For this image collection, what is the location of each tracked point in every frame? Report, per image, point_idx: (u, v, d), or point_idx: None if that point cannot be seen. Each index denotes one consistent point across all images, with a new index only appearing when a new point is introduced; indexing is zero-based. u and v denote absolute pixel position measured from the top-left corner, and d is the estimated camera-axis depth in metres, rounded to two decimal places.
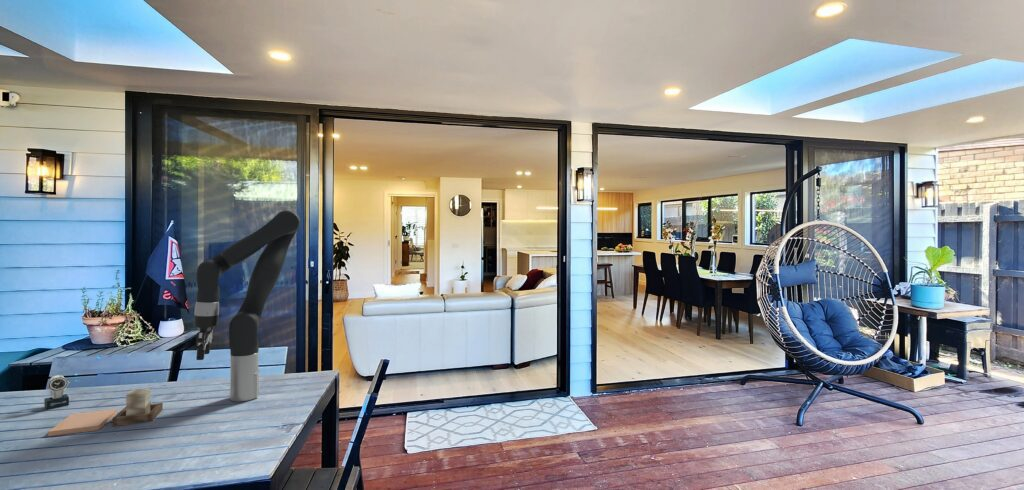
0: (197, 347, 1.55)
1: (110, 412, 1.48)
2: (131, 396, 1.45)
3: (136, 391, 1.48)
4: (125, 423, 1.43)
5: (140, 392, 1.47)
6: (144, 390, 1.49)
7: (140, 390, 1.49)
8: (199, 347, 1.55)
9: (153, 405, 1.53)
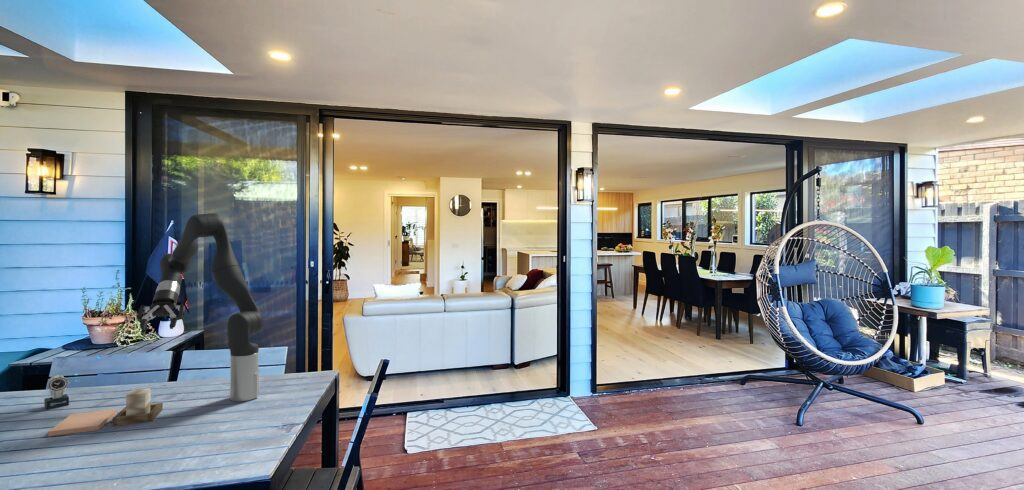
0: None
1: (110, 412, 1.48)
2: (130, 396, 1.45)
3: (136, 391, 1.48)
4: (125, 423, 1.43)
5: (140, 392, 1.47)
6: (144, 390, 1.49)
7: (140, 390, 1.49)
8: None
9: (153, 405, 1.53)
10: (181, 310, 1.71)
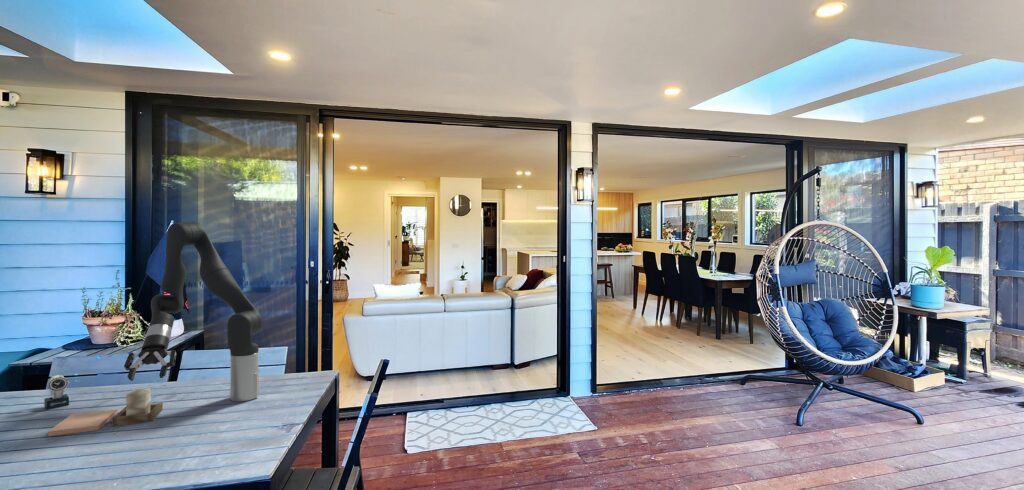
0: None
1: (110, 412, 1.48)
2: (131, 396, 1.45)
3: (136, 391, 1.48)
4: (125, 423, 1.43)
5: (140, 392, 1.47)
6: (144, 390, 1.49)
7: (140, 390, 1.49)
8: None
9: (153, 405, 1.53)
10: (172, 357, 1.61)
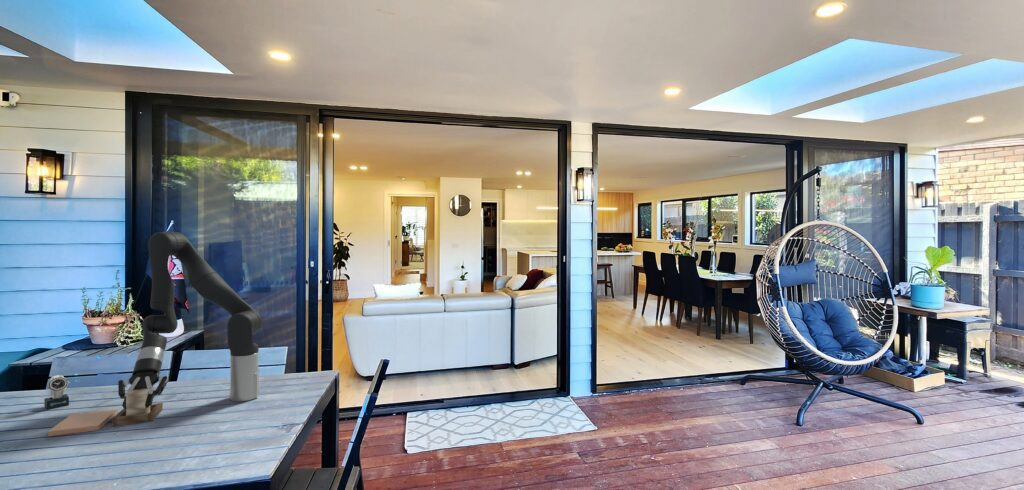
0: None
1: (110, 412, 1.48)
2: (130, 396, 1.45)
3: (136, 391, 1.48)
4: (125, 423, 1.43)
5: (140, 392, 1.47)
6: (144, 390, 1.49)
7: (140, 390, 1.49)
8: None
9: (153, 405, 1.53)
10: (161, 384, 1.52)
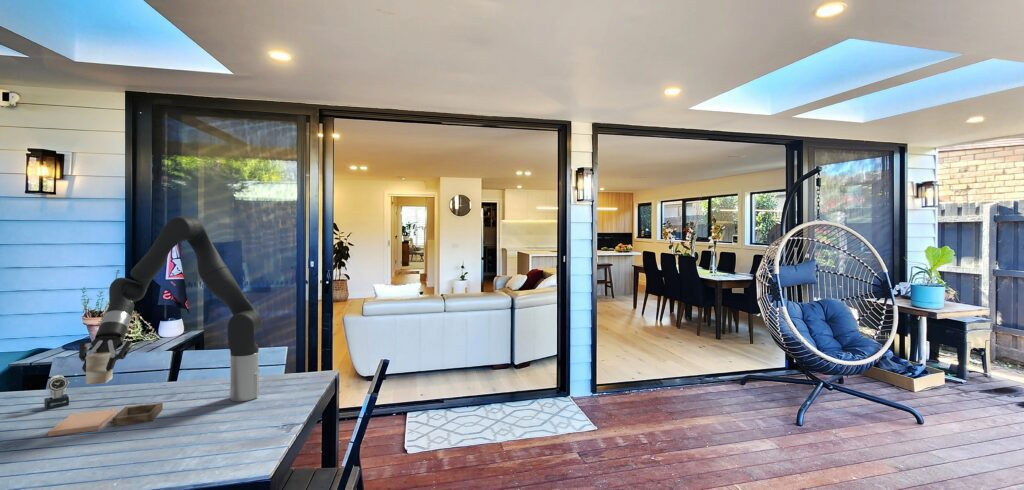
0: None
1: (110, 412, 1.48)
2: (91, 359, 1.41)
3: (97, 354, 1.44)
4: (125, 423, 1.43)
5: (101, 355, 1.43)
6: (106, 353, 1.45)
7: (102, 353, 1.45)
8: None
9: (153, 405, 1.53)
10: (124, 348, 1.48)
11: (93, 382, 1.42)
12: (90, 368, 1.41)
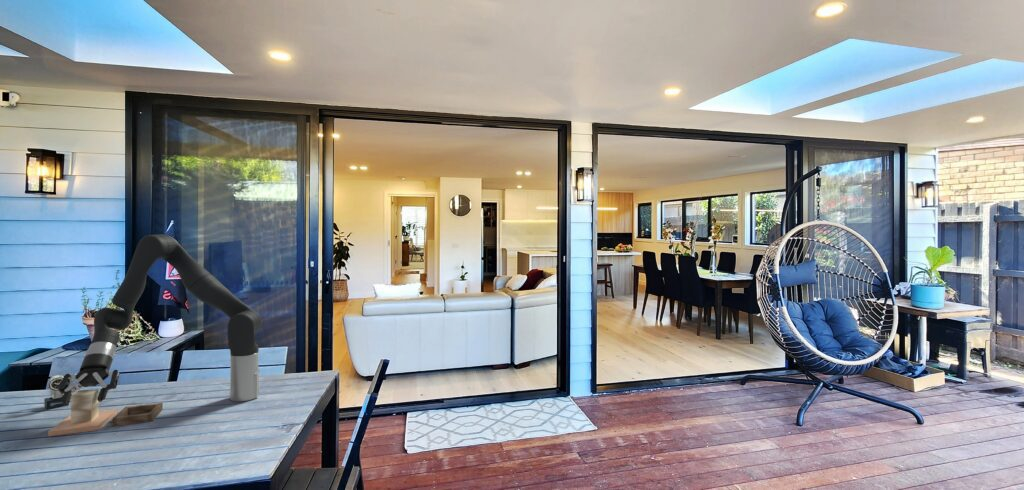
0: None
1: (110, 412, 1.48)
2: (76, 397, 1.40)
3: (82, 392, 1.42)
4: (125, 423, 1.43)
5: (86, 393, 1.42)
6: (91, 391, 1.43)
7: (87, 390, 1.44)
8: None
9: (153, 405, 1.53)
10: (113, 378, 1.47)
11: (78, 421, 1.40)
12: (75, 407, 1.40)
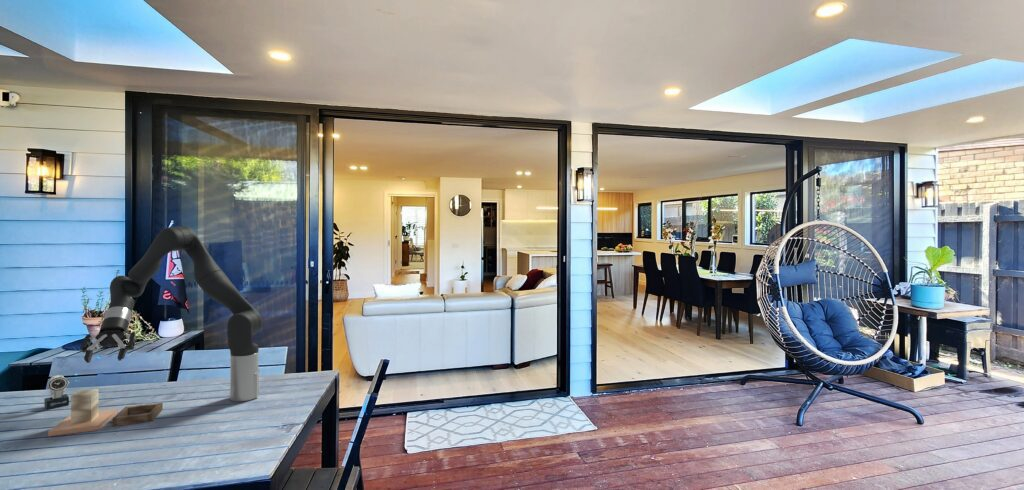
0: None
1: (110, 412, 1.48)
2: (76, 397, 1.40)
3: (82, 392, 1.42)
4: (125, 423, 1.43)
5: (86, 393, 1.42)
6: (91, 391, 1.43)
7: (87, 390, 1.44)
8: None
9: (153, 405, 1.53)
10: (131, 340, 1.60)
11: (78, 421, 1.40)
12: (75, 407, 1.40)
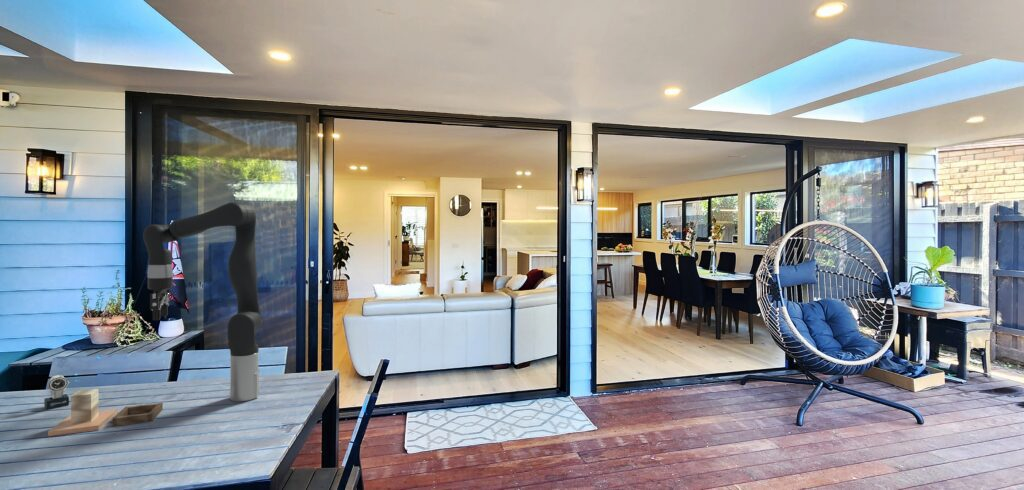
0: (152, 307, 1.61)
1: (110, 412, 1.48)
2: (76, 397, 1.40)
3: (82, 392, 1.42)
4: (125, 423, 1.43)
5: (86, 393, 1.42)
6: (91, 391, 1.43)
7: (87, 390, 1.44)
8: (154, 307, 1.61)
9: (153, 405, 1.53)
10: (169, 297, 1.74)
11: (78, 421, 1.40)
12: (75, 407, 1.40)
